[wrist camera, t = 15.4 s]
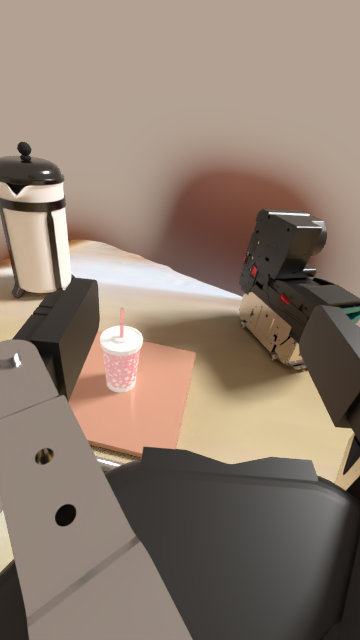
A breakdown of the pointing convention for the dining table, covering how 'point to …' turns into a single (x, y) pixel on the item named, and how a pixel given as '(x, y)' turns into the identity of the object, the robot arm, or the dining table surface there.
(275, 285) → the bill acceptor
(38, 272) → the coffee press
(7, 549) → the dining table surface
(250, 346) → the dining table surface
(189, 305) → the dining table surface
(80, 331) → the robot arm
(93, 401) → the terracotta tile
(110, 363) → the beverage cup
